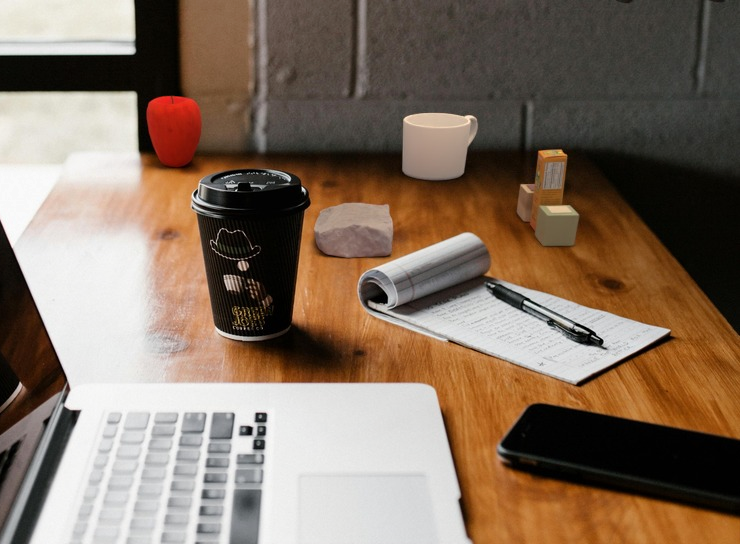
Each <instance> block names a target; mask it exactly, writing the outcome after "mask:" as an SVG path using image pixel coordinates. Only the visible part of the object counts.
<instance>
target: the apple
mask: <svg viewBox="0 0 740 544" xmlns="http://www.w3.org/2000/svg"><path fill="white" fill-rule="evenodd" d="M147 105H148V106H147V108H146V121H147V127H148V134H149V136H150V140H151V143H152V147H153V149H154V151H155V153H156V156H157V158H158V159H159V161H160V163H161V164H162V165H164V166H166V167H169V168H181V167H184V166H186V165H187V164H189V163H190V162H191V161H192V160H193V157H194V156H195V153H196V150H197V148H198V146H199V144H200V140H201V136H202V126H203V123H202V115H201V114H202V113H201V109H200V107H199V105H198V103H197V102H196V101H195V100H194V99H192V98H190V97H184V96H175V95H163V96H159V97H156V98H154V99H152V100H151V101H149V102H148V104H147Z"/></svg>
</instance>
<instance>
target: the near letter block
mask: <svg viewBox="0 0 740 544" xmlns="http://www.w3.org/2000/svg"><path fill="white" fill-rule="evenodd" d="M579 219H580V214H579V213H578V212H577V211H576V210H575V209H574V207H572V205H570V204H569V205H566V204H562V205H556V206H539V210H538V217H537V223H536V230H535V231H534V237H535V238H536V239H537V241H538V242H539V243H540V244H541V245H542V247H573V246H575V244H576V236H577V231H578V226H579V225H578V224H579Z"/></svg>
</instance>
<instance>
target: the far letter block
mask: <svg viewBox="0 0 740 544" xmlns="http://www.w3.org/2000/svg"><path fill="white" fill-rule="evenodd" d="M534 187H535V183H531V184H530V183H528V184H524V183H521V184H519V192H518V200H517V207H516V214H517V215H518V216H519V218H520V219H521V221H523V223H527V222H528V223H530V221H531V213H532V204H533V195H534Z"/></svg>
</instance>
